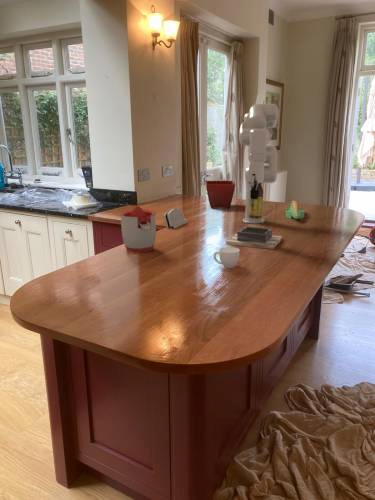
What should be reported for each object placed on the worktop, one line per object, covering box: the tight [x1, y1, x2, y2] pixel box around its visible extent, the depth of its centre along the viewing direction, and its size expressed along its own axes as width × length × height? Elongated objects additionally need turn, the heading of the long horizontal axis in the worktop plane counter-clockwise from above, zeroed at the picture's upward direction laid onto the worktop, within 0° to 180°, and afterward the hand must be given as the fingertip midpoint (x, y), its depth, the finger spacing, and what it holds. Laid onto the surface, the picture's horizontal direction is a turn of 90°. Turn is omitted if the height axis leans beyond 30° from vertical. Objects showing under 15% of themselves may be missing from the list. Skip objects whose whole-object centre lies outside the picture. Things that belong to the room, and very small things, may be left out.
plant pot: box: [205, 180, 236, 209], centre depth 278 cm, size 19×19×17 cm
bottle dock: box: [225, 225, 283, 250], centre depth 191 cm, size 18×22×6 cm
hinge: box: [163, 208, 188, 229], centre depth 228 cm, size 17×5×10 cm, turn 154°
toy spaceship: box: [285, 200, 305, 220], centre depth 243 cm, size 32×10×7 cm, turn 169°
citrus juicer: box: [119, 205, 157, 254], centre depth 178 cm, size 16×17×20 cm
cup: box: [213, 246, 241, 269], centre depth 157 cm, size 8×10×7 cm
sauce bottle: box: [249, 182, 264, 219], centre depth 186 cm, size 6×6×20 cm
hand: (256, 197), depth 186 cm, fingers closed on sauce bottle, 6 cm apart
